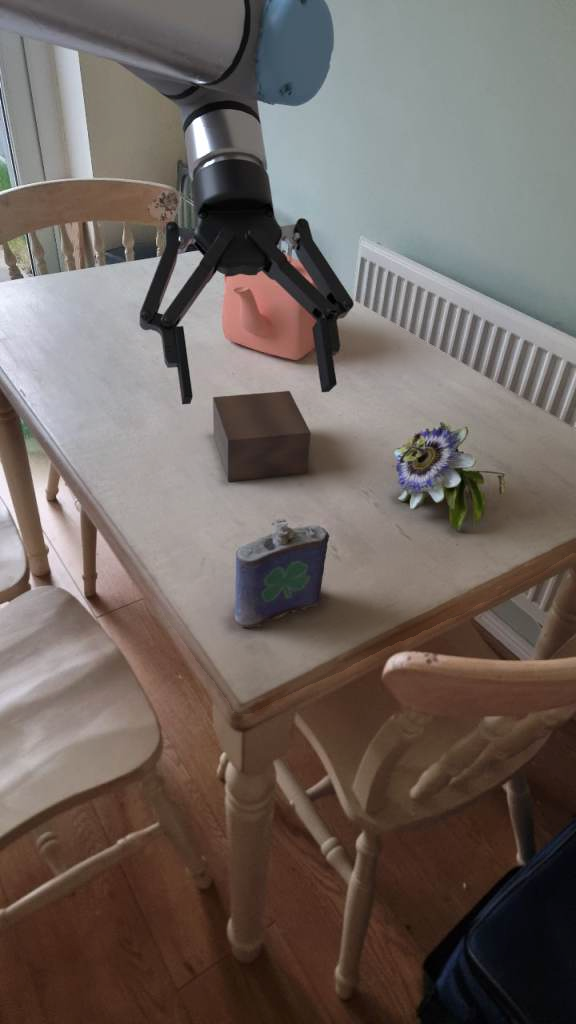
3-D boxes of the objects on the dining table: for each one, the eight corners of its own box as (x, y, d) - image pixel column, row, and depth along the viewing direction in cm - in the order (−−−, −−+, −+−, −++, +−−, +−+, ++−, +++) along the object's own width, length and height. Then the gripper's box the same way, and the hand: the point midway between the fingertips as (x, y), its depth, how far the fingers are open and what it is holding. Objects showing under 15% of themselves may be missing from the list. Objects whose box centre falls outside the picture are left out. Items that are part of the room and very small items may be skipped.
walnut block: (227, 482, 84) (227, 440, 80) (213, 436, 91) (212, 396, 87) (307, 473, 86) (311, 432, 82) (287, 429, 93) (289, 390, 89)
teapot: (181, 353, 108) (176, 266, 100) (246, 311, 122) (247, 231, 113) (292, 390, 101) (299, 299, 93) (349, 341, 115) (359, 258, 106)
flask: (240, 632, 66) (242, 549, 59) (228, 611, 68) (229, 528, 61) (325, 603, 69) (336, 521, 62) (311, 584, 71) (320, 502, 64)
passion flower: (398, 534, 86) (370, 442, 84) (474, 505, 88) (448, 414, 86) (440, 547, 75) (408, 441, 73) (525, 512, 77) (496, 409, 75)
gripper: (341, 196, 73) (371, 393, 71) (97, 201, 67) (124, 415, 66) (364, 153, 66) (398, 372, 64) (92, 155, 60) (123, 394, 58)
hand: (260, 394), depth 65 cm, fingers open, 13 cm apart
